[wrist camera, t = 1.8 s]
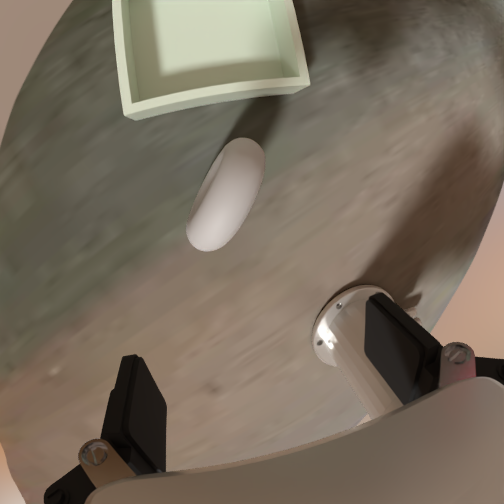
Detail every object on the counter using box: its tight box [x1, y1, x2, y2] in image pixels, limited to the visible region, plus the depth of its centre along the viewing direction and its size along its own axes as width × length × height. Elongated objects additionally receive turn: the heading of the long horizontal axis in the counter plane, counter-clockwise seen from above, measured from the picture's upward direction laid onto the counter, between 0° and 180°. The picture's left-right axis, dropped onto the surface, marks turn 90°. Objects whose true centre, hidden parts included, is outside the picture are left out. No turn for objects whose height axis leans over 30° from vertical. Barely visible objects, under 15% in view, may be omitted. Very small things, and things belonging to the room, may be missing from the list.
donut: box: [186, 138, 265, 251], centre depth 24 cm, size 10×4×10 cm, turn 152°
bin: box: [112, 0, 310, 121], centre depth 21 cm, size 16×16×5 cm
